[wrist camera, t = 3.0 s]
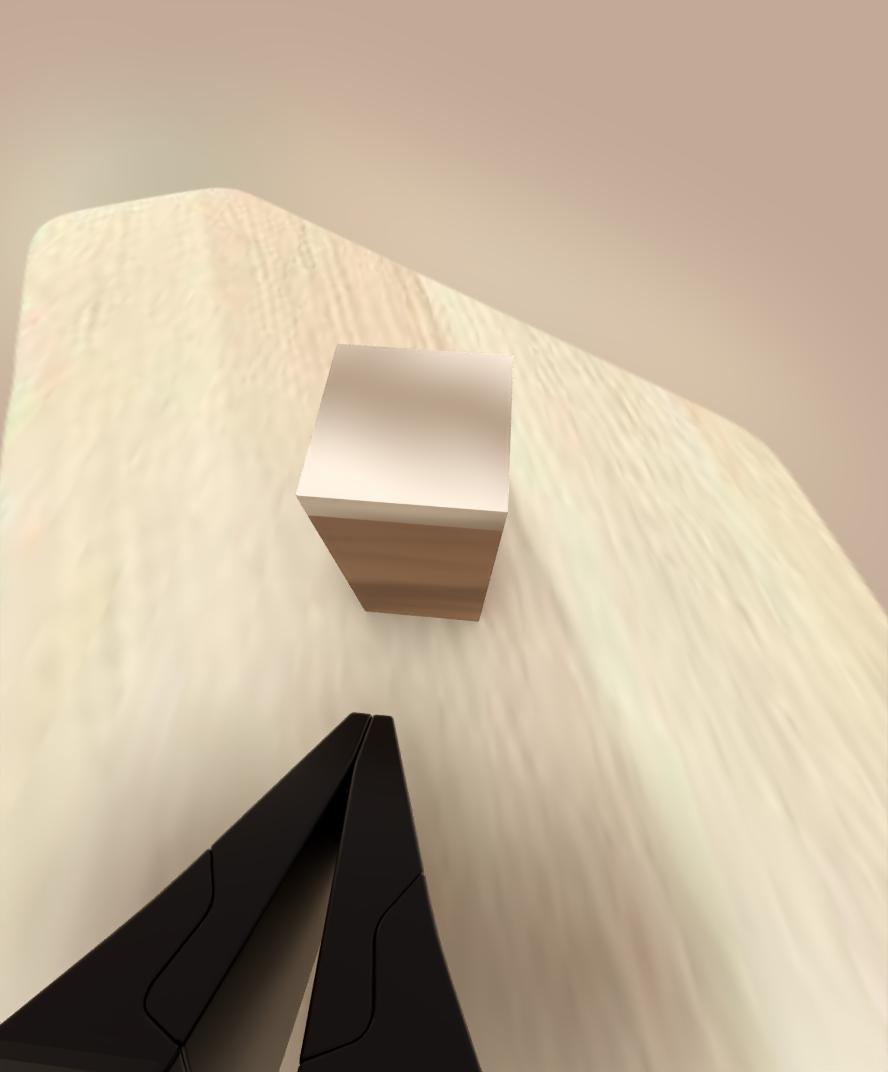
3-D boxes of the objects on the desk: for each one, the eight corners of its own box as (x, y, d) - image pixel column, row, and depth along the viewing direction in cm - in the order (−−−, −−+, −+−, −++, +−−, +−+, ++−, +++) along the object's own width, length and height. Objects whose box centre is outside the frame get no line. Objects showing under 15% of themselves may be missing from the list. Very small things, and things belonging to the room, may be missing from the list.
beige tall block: (478, 621, 19) (507, 512, 10) (365, 611, 19) (295, 495, 10) (484, 519, 21) (513, 355, 12) (382, 511, 22) (337, 344, 13)
